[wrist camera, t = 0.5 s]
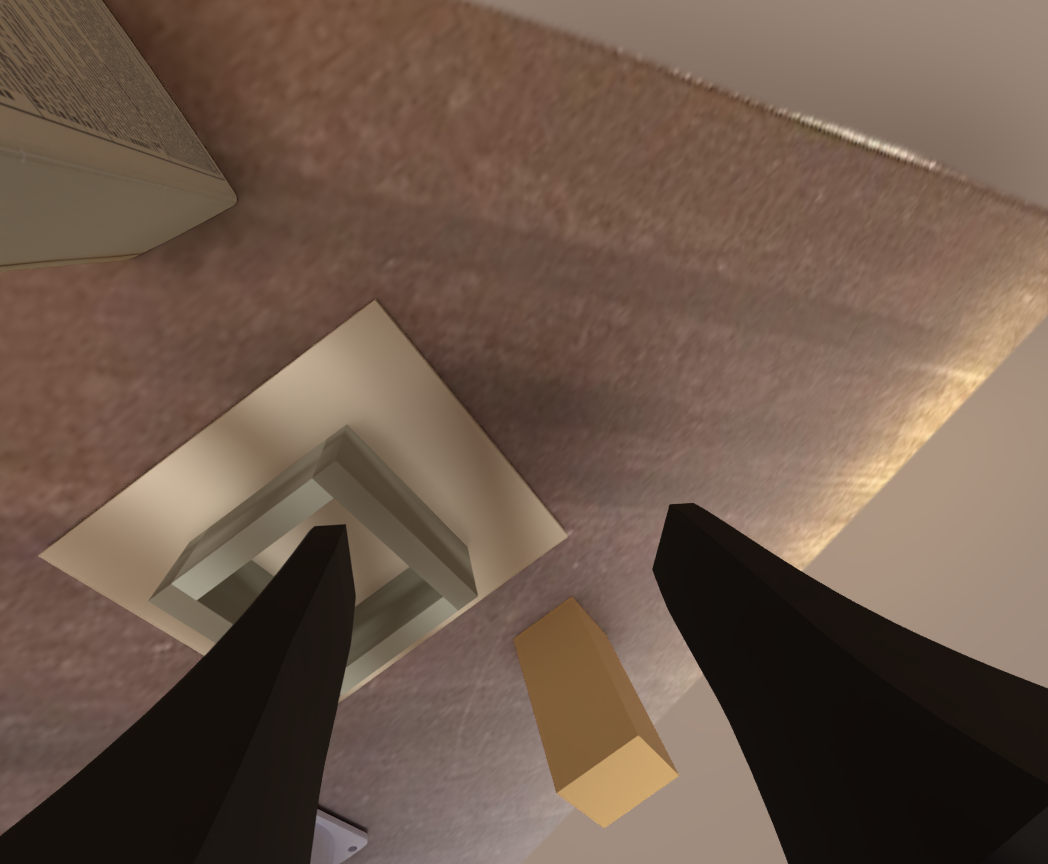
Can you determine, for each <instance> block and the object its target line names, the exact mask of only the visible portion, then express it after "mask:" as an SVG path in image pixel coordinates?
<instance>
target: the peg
mask: <svg viewBox="0 0 1048 864" xmlns="http://www.w3.org/2000/svg"><path fill="white" fill-rule="evenodd" d="M513 640H514V643H515V647H516V651H517V654H518V658H519V661H520V665H521V668H522V672H523V676H524V679H525V683H526V686H527V690H528V693H529V697H530V700H531V704H532V708H533V711H534V715H535V718H536V722H537V725H538V729H539V733H540V736H541V740H542V743H543V747H544V750H545V754H546V758H547V761H548V765H549V768H550V772H551V775H552V779H553V782H554V786H555V790H556V793H557V794H558V795H560V796H561V797H562V798H564V799H565V800H566V801H568V802H569V803H571V804H572V805H573V806H575V807H576V808H578V809H579V810H580V811H581V812H583V813H584V814H586V815H587V816H588V817H590V818H591V819H592V820H594V821H595V822H596V823H598V824H599V825H600V826H602V827H603V828H605V827H607V826H608V825H609V824H611V823H612V822H613V821H615V820H617V819H618V818H619V817H621V816H622V815H624V814H625V813H627V812H628V811H629V810H631V809H632V808H634V807H635V806H637V805H638V804H639V803H641V802H642V801H644V800H645V799H646V798H648V797H649V796H651V795H652V794H653V793H655V792H657V791H658V790H659V789H661V788H662V787H664V786H665V785H667V784H668V783H669V782H671V781H672V780H674V779H675V778H677V777H678V776H679V774H678V772H677V770H676V768H675V767H674V764H673V762H672V761H671V759H670V757H669V755H668V753H667V751H666V749H665V747H664V745H663V743H662V741H661V739H660V737H659V736H658V734H657V732H656V730H655V728H654V726H653V724H652V722H651V720H650V718H649V716H648V714H647V712H646V710H645V709H644V707H643V705H642V703H641V701H640V699H639V697H638V695H637V693H636V691H635V689H634V687H633V685H632V684H631V682H630V680H629V678H628V676H627V674H626V672H625V670H624V668H623V666H622V664H621V662H620V660H619V659H618V657H617V655H616V653H615V651H614V649H613V647H612V645H611V643H610V641H609V639H608V637H607V635H606V634H605V633H604V632H603V631H602V630H601V628H600V627H599V626H598V625H597V624H596V623H595V622H594V621H593V619H592V618H591V617H590V616H589V615H588V614H587V613H586V612H585V610H584V609H583V608H582V607H581V606H580V605H579V604H578V603H577V602H576V600H575V599H574V598H573V597H570V598H569V599H567V600H566V601H565V602H563V603H562V604H561V605H559V606H558V607H556V608H555V609H554V610H552V611H551V612H549V613H548V614H547V615H545V616H544V617H543V618H541V619H540V620H538V621H537V622H536V623H534V624H533V625H531V626H530V627H529V628H527V629H526V630H525V631H523V632H522V633H520V634H519V635H518V636H516V637H515V638H513Z"/></svg>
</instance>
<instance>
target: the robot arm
mask: <svg viewBox="0 0 1048 864" xmlns="http://www.w3.org/2000/svg"><path fill="white" fill-rule="evenodd" d="M652 570H653V573H654V575H655V578H656V581H657V583H658V586H659V589H660V591H661V594H662V596H663V599H664V601H665V603H666V606H667V608H668V610H669V612H670V614H671V616H672V618H673V620H674V622H675V624H676V625H677V627H678V629H679V631H680V633H681V634H682V636H683V638H684V640H685V642H686V644H687V645H688V647H689V649H690V651H691V653H692V654H693V656H694V658H695V660H696V661H697V663H698V665H699V667H700V669H701V670H702V672H703V674H704V676H705V678H706V679H707V681H708V683H709V685H710V686H711V688H712V690H713V692H714V694H715V696H716V697H717V699H718V701H719V703H720V705H721V707H722V709H723V710H724V713H725V715H726V716H727V719H728V720H729V722H730V725H731V727H732V729H733V731H734V734H735V736H736V738H737V740H738V742H739V745H740V747H741V749H742V752H743V754H744V756H745V758H746V761H747V763H748V765H749V767H750V770H751V772H752V774H753V777H754V779H755V782H756V784H757V786H758V789H759V791H760V794H761V796H762V799H763V801H764V803H765V806H766V808H767V811H768V813H769V815H770V818H771V820H772V823H773V825H774V828H775V830H776V833H777V836H778V838H779V841H780V844H781V846H782V848H783V851H784V854H785V857H786V859H787V862H788V864H1048V688H1045V687H1043V686H1040V685H1038V684H1035V683H1032V682H1030V681H1027V680H1025V679H1022V678H1020V677H1017V676H1015V675H1012V674H1009V673H1007V672H1004V671H1002V670H999V669H996V668H994V667H992V666H990V665H987V664H985V663H982V662H980V661H977V660H975V659H973V658H970V657H968V656H966V655H963V654H961V653H959V652H956V651H954V650H952V649H950V648H947V647H945V646H943V645H941V644H939V643H937V642H934V641H932V640H930V639H928V638H925V637H923V636H921V635H919V634H917V633H914V632H913V631H910V630H908V629H906V628H904V627H902V626H900V625H898V624H896V623H894V622H892V621H890V620H888V619H886V618H884V617H882V616H880V615H878V614H877V613H874V612H873V611H871V610H868V609H867V608H865V607H863V606H861V605H859V604H857V603H855V602H853V601H852V600H850V599H848V598H846V597H844V596H843V595H841V594H839V593H837V592H835V591H834V590H832V589H830V588H829V587H827V586H825V585H824V584H822V583H820V582H818V581H817V580H815V579H813V578H812V577H810V576H808V575H806V574H805V573H803V572H802V571H800V570H798V569H797V568H795V567H793V566H792V565H790V564H789V563H787V562H785V561H784V560H782V559H781V558H779V557H778V556H776V555H774V554H773V553H771V552H770V551H768V550H767V549H765V548H764V547H762V546H760V545H759V544H757V543H756V542H754V541H753V540H751V539H750V538H748V537H747V536H745V535H744V534H742V533H741V532H739V531H738V530H736V529H735V528H733V527H732V526H730V525H728V524H727V523H725V522H724V521H722V520H721V519H719V518H718V517H716V516H715V515H713V514H711V513H710V512H708V511H706V510H705V509H703V508H701V507H700V506H698V505H696V504H694V503H685V504H670V505H669V509H668V513H667V516H666V520H665V524H664V528H663V531H662V535H661V539H660V543H659V546H658V550H657V554H656V558H655V561H654V565H653V569H652ZM355 601H356V593H355V585H354V578H353V571H352V564H351V557H350V550H349V542H348V535H347V528H346V524H340V525H323V526H314V527H313V528H312V529H311V530H310V531H309V532H308V533H307V534H306V536H305V537H304V539H303V540H302V541H301V543H300V544H299V545H298V547H297V548H296V549H295V551H294V552H293V553H292V554H291V556H290V557H289V558H288V560H287V561H286V562H285V563H284V565H283V566H282V567H281V569H280V570H279V571H278V572H277V574H276V575H275V576H274V577H273V579H272V580H271V581H270V582H269V583H268V585H267V586H266V587H265V588H264V589H263V591H262V592H261V593H260V594H259V595H258V597H257V598H256V599H255V600H254V601H253V603H252V604H251V605H250V606H249V607H248V609H247V610H246V611H245V612H244V613H243V614H242V615H241V617H240V618H239V619H238V620H237V621H236V622H235V623H234V624H233V625H232V626H231V628H230V629H229V630H228V631H227V632H226V633H225V634H224V635H223V636H222V637H221V638H220V640H219V641H218V642H217V643H216V644H215V645H214V646H213V647H212V648H211V649H210V650H209V652H208V653H207V654H206V655H205V656H204V657H203V658H202V659H201V660H200V661H199V662H198V663H197V664H196V665H195V666H194V667H193V668H192V669H191V670H190V671H189V672H188V673H187V674H186V675H185V676H184V677H183V678H182V679H181V680H180V681H179V682H178V683H177V684H176V685H175V686H174V687H173V688H172V689H171V690H170V691H169V692H168V693H167V694H166V695H165V696H164V697H163V698H161V699H160V700H159V701H158V702H157V703H156V704H155V705H154V706H153V707H152V708H151V709H150V710H149V711H148V712H147V713H146V714H145V715H143V716H142V717H141V718H140V719H139V720H138V721H137V722H136V723H135V724H133V725H132V726H131V727H130V728H129V729H128V730H127V731H126V732H124V733H123V734H122V735H121V736H120V737H119V738H118V739H117V740H116V741H114V742H113V743H112V744H111V745H110V746H109V747H108V748H107V749H105V750H104V751H103V752H102V753H101V754H100V755H99V756H97V757H96V758H95V759H94V760H93V761H92V762H91V763H89V764H88V765H87V766H86V767H85V768H84V769H82V770H81V771H80V772H79V773H78V774H77V775H75V776H74V777H73V778H72V779H71V780H69V781H68V782H67V783H66V784H65V785H63V786H62V787H61V788H60V789H59V790H57V791H56V792H55V793H54V794H52V795H51V796H50V797H49V798H47V799H46V800H45V801H44V802H42V803H41V804H40V805H39V806H37V807H36V808H35V809H34V810H32V811H31V812H30V813H29V814H27V815H26V816H25V817H24V818H22V819H21V820H20V821H19V822H17V823H16V824H15V825H14V826H12V827H11V828H10V829H9V830H7V831H6V832H5V833H4V834H2V835H1V836H0V864H341V863H342V862H344V861H345V860H346V859H348V858H349V857H351V856H352V855H353V854H355V853H356V852H358V851H359V850H360V849H362V848H363V847H365V846H366V845H367V843H368V834H367V833H365V832H363V831H361V830H359V829H357V828H355V827H353V826H351V825H349V824H347V823H345V822H343V821H341V820H339V819H337V818H335V817H333V816H331V815H329V814H327V813H325V812H323V811H321V810H319V809H318V801H319V794H320V787H321V782H322V776H323V771H324V765H325V760H326V756H327V751H328V747H329V742H330V738H331V733H332V729H333V724H334V720H335V715H336V711H337V706H338V702H339V697H340V693H341V688H342V683H343V679H344V674H345V670H346V665H347V660H348V656H349V651H350V646H351V640H352V631H353V621H354V611H355Z"/></svg>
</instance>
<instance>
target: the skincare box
mask: <svg viewBox="0 0 1048 864" xmlns="http://www.w3.org/2000/svg"><path fill="white" fill-rule="evenodd" d="M236 202H237V196H236V194H235V193H234V191H233V189H232V188H231V186H230V185H229V183H228V182H227V180H226V179H225V177H224V176H223V174H222V173H221V171H220V170H219V168H218V167H217V165H216V164H215V162H214V161H213V159H212V158H211V156H210V155H209V153H208V152H207V150H206V149H205V147H204V146H203V144H202V143H201V141H200V140H199V138H198V137H197V135H196V134H195V133H194V131H193V130H192V128H191V127H190V125H189V124H188V122H187V121H186V119H185V118H184V116H183V115H182V113H181V112H180V110H179V109H178V107H177V106H176V104H175V103H174V102H173V100H172V99H171V97H170V96H169V95H168V93H167V92H166V90H165V89H164V87H163V86H162V85H161V83H160V82H159V80H158V79H157V77H156V76H155V74H154V73H153V71H152V70H151V68H150V67H149V66H148V64H147V63H146V61H145V60H144V58H143V57H142V56H141V54H140V53H139V51H138V50H137V49H136V47H135V46H134V44H133V43H132V41H131V40H130V38H129V37H128V36H127V34H126V33H125V32H124V30H123V29H122V27H121V26H120V25H119V23H118V22H117V20H116V19H115V18H114V16H113V15H112V14H111V12H110V11H109V9H108V8H107V7H106V5H105V4H104V2H103V1H102V0H0V272H2V271H12V270H23V269H31V268H43V267H54V266H66V265H75V264H88V263H99V262H113V261H124V260H130V259H132V258H134V257H136V256H138V255H140V254H142V253H144V252H146V251H148V250H150V249H152V248H154V247H156V246H158V245H160V244H163V243H165V242H167V241H169V240H170V239H172V238H174V237H176V236H178V235H180V234H182V233H184V232H186V231H188V230H190V229H191V228H193V227H195V226H197V225H199V224H201V223H203V222H205V221H207V220H208V219H210V218H212V217H214V216H216V215H217V214H219V213H221V212H223V211H225V210H227V209H228V208H230V207H232V206H234V205H235V204H236Z"/></svg>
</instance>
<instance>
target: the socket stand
mask: <svg viewBox="0 0 1048 864" xmlns="http://www.w3.org/2000/svg"><path fill="white" fill-rule="evenodd" d="M340 524H346V528H347V535H348V542H349V550H350V557H351V564H352V571H353V578H354V585H355V593H356V601H355V611H354V621H353V631H352V640H351V646H350V651H349V656H348V660H347V665H346V670H345V674H344V679H343V683H342V688H341V693H340V697H339V702H338V703H340V702H341V701H342V700H344V699H345V698H347V697H348V696H349V695H351V694H352V693H353V692H355V691H356V690H358V689H359V688H360V687H362V686H363V685H364V684H366V683H367V682H369V681H370V680H371V679H373V678H374V677H375V676H377V675H378V674H380V673H381V672H382V671H384V670H385V669H387V668H388V667H389V666H391V665H392V664H393V663H395V662H396V661H398V660H399V659H400V658H402V657H403V656H404V655H406V654H407V653H409V652H410V651H411V650H413V649H414V648H415V647H417V646H418V645H420V644H421V643H422V642H424V641H425V640H426V639H428V638H429V637H431V636H432V635H433V634H435V633H436V632H437V631H439V630H440V629H442V628H443V627H444V626H446V625H447V624H448V623H450V622H451V621H453V620H454V619H455V618H457V617H458V616H459V615H461V614H462V613H464V612H465V611H466V610H468V609H469V608H470V607H472V606H473V605H475V604H476V603H477V602H479V601H480V600H481V599H483V598H484V597H486V596H487V595H488V594H490V593H491V592H493V591H494V590H495V589H497V588H498V587H499V586H501V585H502V584H504V583H505V582H506V581H508V580H509V579H510V578H512V577H513V576H515V575H516V574H517V573H519V572H520V571H521V570H523V569H524V568H526V567H527V566H528V565H530V564H531V563H532V562H534V561H535V560H537V559H538V558H539V557H541V556H542V555H543V554H545V553H546V552H548V551H549V550H550V549H552V548H553V547H554V546H556V545H557V544H559V543H560V542H561V541H563V540H564V539H565V538H567V537H568V535H567V533H566V532H565V530H564V529H563V527H562V526H561V525H560V524H559V522H558V521H557V520H556V519H555V518H554V516H553V515H552V514H551V513H550V511H549V510H548V509H547V508H546V506H545V505H544V504H543V503H542V502H541V500H540V499H539V498H538V497H537V495H536V494H535V493H534V492H533V491H532V489H531V488H530V487H529V486H528V484H527V483H526V482H525V481H524V479H523V478H522V477H521V476H520V475H519V473H518V472H517V471H516V470H515V468H514V467H513V466H512V465H511V464H510V462H509V461H508V460H507V459H506V457H505V456H504V455H503V454H502V452H501V451H500V450H499V449H498V448H497V446H496V445H495V444H494V443H493V441H492V440H491V439H490V438H489V437H488V435H487V434H486V433H485V432H484V430H483V429H482V428H481V427H480V425H479V424H478V423H477V422H476V421H475V419H474V418H473V417H472V416H471V414H470V413H469V412H468V411H467V410H466V408H465V407H464V406H463V405H462V403H461V402H460V401H459V400H458V398H457V397H456V396H455V395H454V394H453V392H452V391H451V390H450V389H449V387H448V386H447V385H446V384H445V383H444V381H443V380H442V379H441V378H440V376H439V375H438V374H437V373H436V371H435V370H434V369H433V368H432V367H431V365H430V364H429V363H428V362H427V360H426V359H425V358H424V357H423V356H422V354H421V353H420V352H419V351H418V349H417V348H416V347H415V346H414V344H413V343H412V342H411V341H410V340H409V338H408V337H407V336H406V335H405V333H404V332H403V331H402V330H401V329H400V327H399V326H398V325H397V324H396V322H395V321H394V320H393V319H392V317H391V316H390V315H389V314H388V313H387V311H386V310H385V309H384V308H383V306H382V305H381V304H380V303H379V302H378V300H377V299H376V298H375V299H374V300H373V301H371V302H370V303H369V304H367V305H366V306H365V307H363V308H362V309H361V310H359V311H358V312H357V313H355V314H354V315H353V316H352V317H350V318H349V319H348V320H346V321H345V322H344V323H342V324H341V325H340V326H338V327H337V328H336V329H334V330H333V331H332V332H330V333H329V334H328V335H327V336H325V337H324V338H323V339H321V340H320V341H319V342H317V343H316V344H315V345H313V346H312V347H311V348H309V349H308V350H307V351H305V352H304V353H303V354H302V355H300V356H299V357H298V358H296V359H295V360H294V361H292V362H291V363H290V364H288V365H287V366H286V367H284V368H283V369H282V370H280V371H279V372H278V373H277V374H275V375H274V376H273V377H271V378H270V379H269V380H267V381H266V382H265V383H263V384H262V385H261V386H259V387H258V388H257V389H256V390H254V391H253V392H252V393H250V394H249V395H248V396H246V397H245V398H244V399H242V400H241V401H240V402H238V403H237V404H236V405H234V406H233V407H232V408H231V409H229V410H228V411H227V412H225V413H224V414H223V415H221V416H220V417H219V418H217V419H216V420H215V421H213V422H212V423H211V424H209V425H208V426H207V427H206V428H204V429H203V430H202V431H200V432H199V433H198V434H196V435H195V436H194V437H192V438H191V439H190V440H188V441H187V442H186V443H184V444H183V445H182V446H181V447H179V448H178V449H177V450H175V451H174V452H173V453H171V454H170V455H169V456H167V457H166V458H165V459H163V460H162V461H161V462H159V463H158V464H157V465H156V466H154V467H153V468H152V469H150V470H149V471H148V472H146V473H145V474H144V475H142V476H141V477H140V478H138V479H137V480H136V481H134V482H133V483H132V484H131V485H129V486H128V487H127V488H125V489H124V490H123V491H121V492H120V493H119V494H117V495H116V496H115V497H113V498H112V499H111V500H109V501H108V502H107V503H106V504H104V505H103V506H102V507H100V508H99V509H98V510H96V511H95V512H94V513H92V514H91V515H90V516H88V517H87V518H86V519H84V520H83V521H82V522H81V523H79V524H78V525H77V526H75V527H74V528H73V529H71V530H70V531H69V532H67V533H66V534H65V535H63V536H62V537H61V538H59V539H58V540H57V541H56V542H54V543H53V544H52V545H50V546H49V547H48V548H47V549H46V550H44V551H43V552H42V553H41V554H40V555H39V557H41V558H42V559H44V560H46V561H47V562H49V563H51V564H52V565H54V566H56V567H57V568H59V569H61V570H62V571H64V572H66V573H67V574H69V575H71V576H72V577H74V578H76V579H77V580H79V581H81V582H82V583H84V584H86V585H87V586H89V587H91V588H92V589H94V590H96V591H97V592H99V593H101V594H102V595H104V596H106V597H107V598H109V599H111V600H112V601H114V602H116V603H117V604H119V605H121V606H122V607H124V608H126V609H127V610H129V611H131V612H132V613H134V614H136V615H137V616H139V617H141V618H142V619H144V620H146V621H147V622H149V623H151V624H152V625H154V626H156V627H157V628H159V629H161V630H162V631H164V632H166V633H167V634H169V635H171V636H172V637H174V638H176V639H177V640H179V641H181V642H182V643H184V644H186V645H187V646H189V647H191V648H192V649H194V650H196V651H197V652H199V653H201V654H202V655H204V656H205V655H206V654H207V653H208V652H209V650H210V649H211V648H212V647H213V646H214V645H215V644H216V643H217V642H218V641H219V640H220V638H221V637H222V636H223V635H224V634H225V633H226V632H227V631H228V630H229V629H230V628H231V626H232V625H233V624H234V623H235V622H236V621H237V620H238V619H239V618H240V617H241V615H242V614H243V613H244V612H245V611H246V610H247V609H248V607H249V606H250V605H251V604H252V603H253V601H254V600H255V599H256V598H257V597H258V595H259V594H260V593H261V592H262V591H263V589H264V588H265V587H266V586H267V585H268V583H269V582H270V581H271V580H272V579H273V577H274V576H275V575H276V574H277V572H278V571H279V570H280V569H281V567H282V566H283V565H284V563H285V562H286V561H287V560H288V558H289V557H290V556H291V554H292V553H293V552H294V551H295V549H296V548H297V547H298V545H299V544H300V543H301V541H302V540H303V539H304V537H305V536H306V534H307V533H308V532H309V531H310V530H311V529H312V528H313V527H314V526H323V525H340Z"/></svg>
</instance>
